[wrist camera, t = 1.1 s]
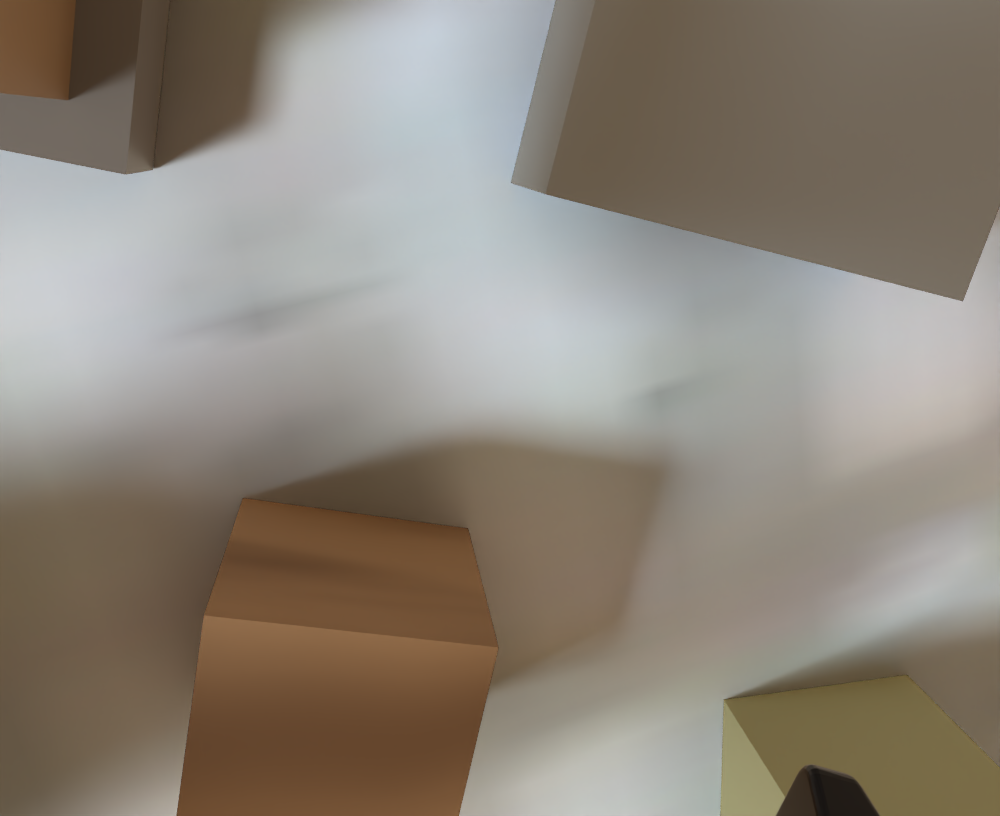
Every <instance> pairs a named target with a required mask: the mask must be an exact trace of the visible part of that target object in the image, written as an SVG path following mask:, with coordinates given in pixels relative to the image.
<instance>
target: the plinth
mask: <svg viewBox="0 0 1000 816" xmlns="http://www.w3.org/2000/svg"><path fill="white" fill-rule="evenodd" d="M169 8H170V0H0V149H1V150H6V151H11V152H16V153H21V154H26V155H31V156H36V157H41V158H46V159H51V160H56V161H61V162H66V163H71V164H76V165H81V166H86V167H91V168H96V169H101V170H106V171H111V172H116V173H121V174H132V173H137V172H143V171H149V170H153V164H154V154H155V144H156V135H157V125H158V115H159V105H160V96H161V86H162V76H163V66H164V57H165V47H166V37H167V27H168V18H169Z"/></svg>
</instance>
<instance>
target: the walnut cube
mask: <svg viewBox="0 0 1000 816" xmlns="http://www.w3.org/2000/svg"><path fill="white" fill-rule="evenodd" d="M498 648H499V647H498V643H497V639H496V635H495V631H494V628H493V624H492V620H491V616H490V612H489V608H488V604H487V600H486V596H485V593H484V589H483V585H482V581H481V577H480V573H479V569H478V565H477V562H476V558H475V554H474V550H473V546H472V542H471V538H470V534H469V530H468V528H460V527H453V526H446V525H438V524H431V523H424V522H416V521H409V520H401V519H394V518H387V517H379V516H372V515H365V514H357V513H350V512H342V511H335V510H328V509H320V508H313V507H306V506H298V505H291V504H283V503H276V502H269V501H261V500H254V499H247V498H243V499H242V502H241V505H240V508H239V511H238V514H237V517H236V520H235V523H234V526H233V529H232V532H231V535H230V538H229V541H228V544H227V547H226V550H225V553H224V556H223V559H222V562H221V565H220V568H219V571H218V574H217V577H216V580H215V583H214V586H213V589H212V592H211V595H210V598H209V601H208V604H207V607H206V610H205V613H204V617H203V624H202V631H201V639H200V646H199V654H198V661H197V668H196V676H195V683H194V690H193V698H192V705H191V713H190V720H189V727H188V735H187V742H186V749H185V757H184V764H183V772H182V779H181V786H180V794H179V801H178V808H177V816H459V812H460V808H461V804H462V800H463V796H464V791H465V787H466V783H467V779H468V775H469V770H470V766H471V762H472V758H473V753H474V749H475V745H476V741H477V737H478V732H479V728H480V724H481V720H482V716H483V711H484V707H485V703H486V699H487V694H488V690H489V686H490V682H491V678H492V673H493V669H494V665H495V661H496V657H497V652H498Z"/></svg>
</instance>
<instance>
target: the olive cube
mask: <svg viewBox="0 0 1000 816" xmlns="http://www.w3.org/2000/svg"><path fill="white" fill-rule="evenodd" d="M808 764H814V765H818V766H821V767H825V768H828V769H832V770H835V771H839V772H843V773H846V774H849V775H851V776H852V777H854V778H855V779H856V780H857V781H858V782H859V783H860V785H861V786H862V788H863V789H864V791H865V792H866V794H867V796H868V797H869V799H870V800H871V802H872V803H873V805H874V806H875V808H876V810H877V811H878V813H879V814H880V816H1000V768H999V766H998V765H997V764H996V763H995V762H994V761H993V760H992V759H991V758H990V757H989V756H988V755H987V754H986V753H985V752H984V751H983V750H982V749H981V748H980V747H979V746H978V745H977V744H976V743H975V742H974V741H973V740H972V739H971V738H970V737H969V736H968V735H967V734H966V733H965V732H964V731H963V730H962V729H961V728H960V727H959V726H958V725H957V724H956V723H955V722H954V721H953V720H952V719H951V718H950V717H949V716H948V715H947V714H946V713H945V712H944V711H943V710H942V709H941V708H940V707H939V706H938V705H937V704H936V703H935V702H934V701H933V700H932V699H931V698H930V697H929V696H928V695H927V694H926V693H925V692H924V691H923V690H922V689H921V688H920V687H919V686H918V685H917V684H916V683H915V682H914V681H913V680H912V679H911V678H910V677H909V676H908V675H902V676H894V677H887V678H880V679H872V680H865V681H858V682H850V683H843V684H836V685H828V686H821V687H814V688H806V689H799V690H792V691H784V692H777V693H770V694H762V695H755V696H748V697H740V698H733V699H726V700H724V711H723V745H722V779H721V813H720V816H776V814H777V812H778V810H779V808H780V806H781V804H782V802H783V800H784V799H785V797H786V795H787V793H788V791H789V789H790V787H791V785H792V783H793V781H794V779H795V778H796V776H797V774H798V772H799V771H800V770H801V768H803V767H804V766H805V765H808Z"/></svg>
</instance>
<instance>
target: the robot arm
mask: <svg viewBox="0 0 1000 816" xmlns="http://www.w3.org/2000/svg"><path fill="white" fill-rule="evenodd" d="M776 816H880V814H879V813H878V811H877V810H876V808H875V806H874V805H873V803H872V802H871V800H870V799H869V797H868V796H867V794H866V792H865V791H864V789H863V788H862V786H861V785H860V783H859V782H858V781H857V780H856V779H855V778H854V777H852V776H851V775H849V774H846V773H843V772H839V771H835V770H832V769H828V768H825V767H821V766H818V765H814V764H808V765H805V766H804V767H803V768H801V770H800V771H799V772H798V774H797V776H796V778H795V779H794V781H793V783H792V785H791V787H790V789H789V791H788V793H787V795H786V797H785V799H784V800H783V802H782V804H781V806H780V808H779V810H778V812H777V814H776Z"/></svg>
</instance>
